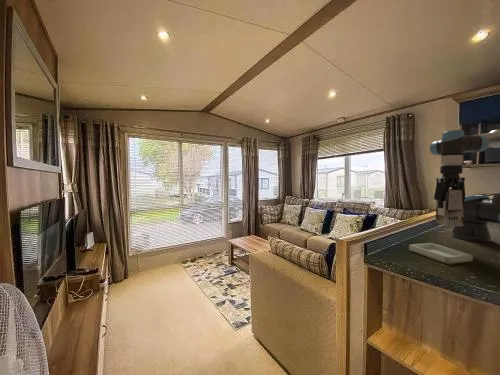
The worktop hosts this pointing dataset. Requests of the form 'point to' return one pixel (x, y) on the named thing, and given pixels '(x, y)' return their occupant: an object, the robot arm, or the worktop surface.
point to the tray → (441, 253)
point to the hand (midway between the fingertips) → (449, 214)
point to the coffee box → (452, 208)
